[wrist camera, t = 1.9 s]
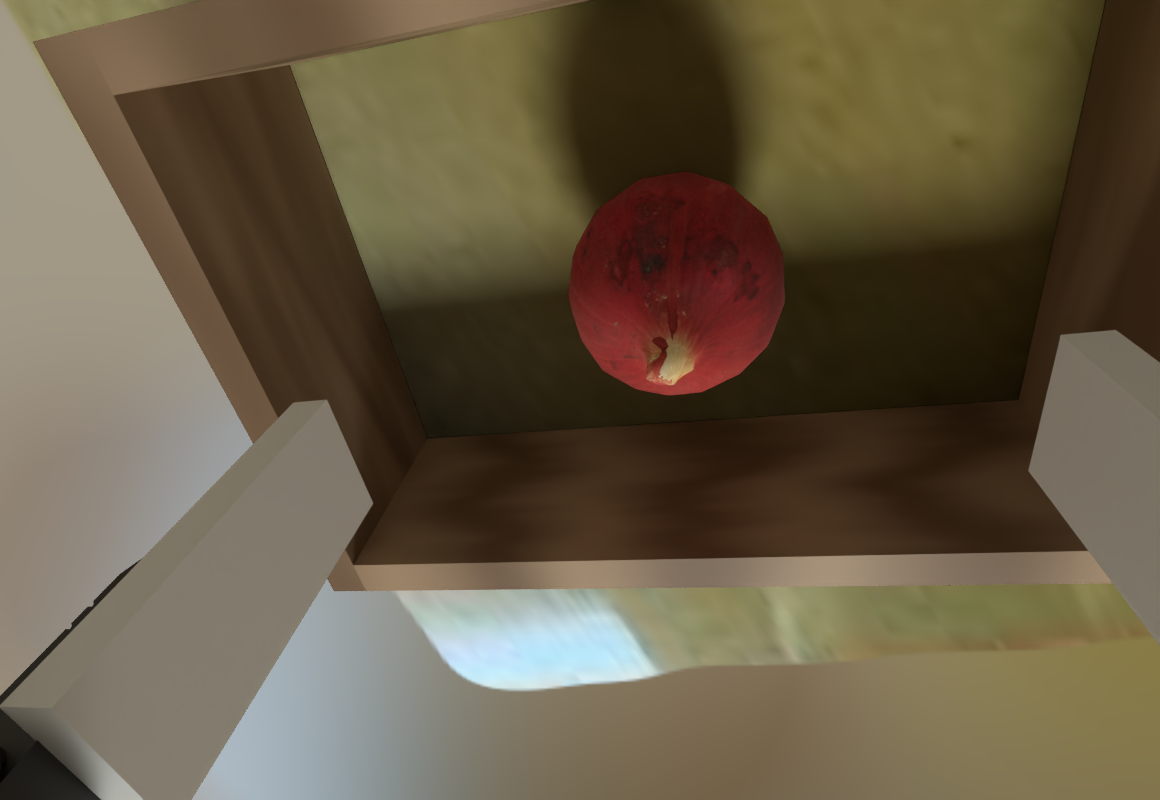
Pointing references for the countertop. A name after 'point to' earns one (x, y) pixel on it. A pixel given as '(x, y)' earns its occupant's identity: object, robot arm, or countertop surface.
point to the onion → (677, 284)
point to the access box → (590, 455)
